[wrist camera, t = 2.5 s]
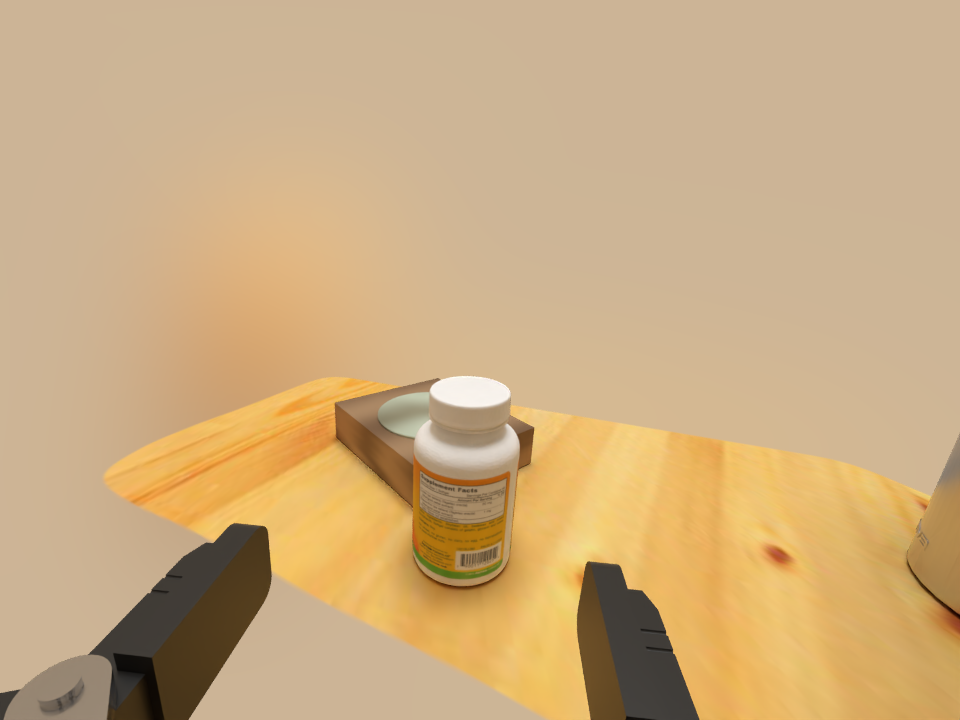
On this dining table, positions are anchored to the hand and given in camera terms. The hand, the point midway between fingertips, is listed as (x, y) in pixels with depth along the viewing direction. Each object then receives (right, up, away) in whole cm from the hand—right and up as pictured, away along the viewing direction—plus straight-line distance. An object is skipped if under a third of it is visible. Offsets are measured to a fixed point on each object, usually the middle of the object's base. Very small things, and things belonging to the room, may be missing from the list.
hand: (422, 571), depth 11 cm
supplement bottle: (0, -6, +14) cm, 15 cm away
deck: (-2, -2, +24) cm, 24 cm away
